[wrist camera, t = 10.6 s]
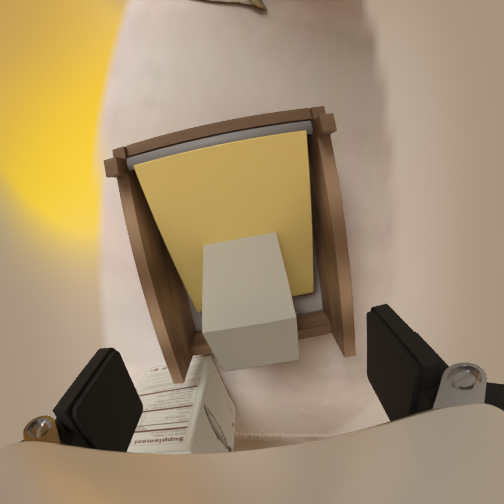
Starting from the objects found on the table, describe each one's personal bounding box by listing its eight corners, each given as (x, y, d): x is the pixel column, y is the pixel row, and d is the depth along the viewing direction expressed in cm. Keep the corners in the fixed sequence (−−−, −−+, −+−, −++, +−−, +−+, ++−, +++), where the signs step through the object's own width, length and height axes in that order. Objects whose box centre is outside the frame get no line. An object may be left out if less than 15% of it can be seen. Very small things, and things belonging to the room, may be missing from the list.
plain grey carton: (203, 245, 21) (202, 332, 16) (276, 232, 21) (296, 317, 16) (220, 291, 24) (223, 371, 19) (282, 280, 24) (299, 359, 19)
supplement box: (238, 407, 29) (233, 505, 17) (174, 418, 30) (149, 508, 17) (212, 351, 28) (192, 452, 15) (145, 366, 28) (98, 455, 16)
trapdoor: (129, 155, 17) (125, 162, 16) (307, 118, 16) (312, 123, 16) (193, 303, 27) (192, 312, 26) (315, 282, 26) (317, 291, 25)
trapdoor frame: (147, 156, 24) (101, 146, 16) (304, 125, 23) (329, 98, 15) (189, 340, 27) (169, 396, 19) (332, 315, 27) (361, 366, 19)
